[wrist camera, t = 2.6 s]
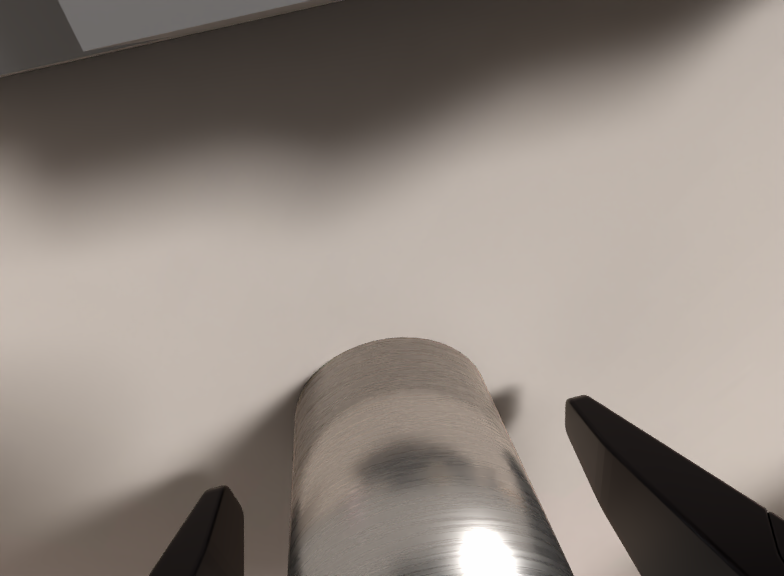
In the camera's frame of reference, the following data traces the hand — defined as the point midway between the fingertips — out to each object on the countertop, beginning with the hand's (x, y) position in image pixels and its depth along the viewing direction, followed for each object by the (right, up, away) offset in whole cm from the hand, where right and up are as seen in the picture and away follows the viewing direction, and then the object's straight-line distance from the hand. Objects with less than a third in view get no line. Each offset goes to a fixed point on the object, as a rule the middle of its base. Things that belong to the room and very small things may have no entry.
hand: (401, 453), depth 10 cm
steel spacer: (0, +1, +1) cm, 1 cm away
